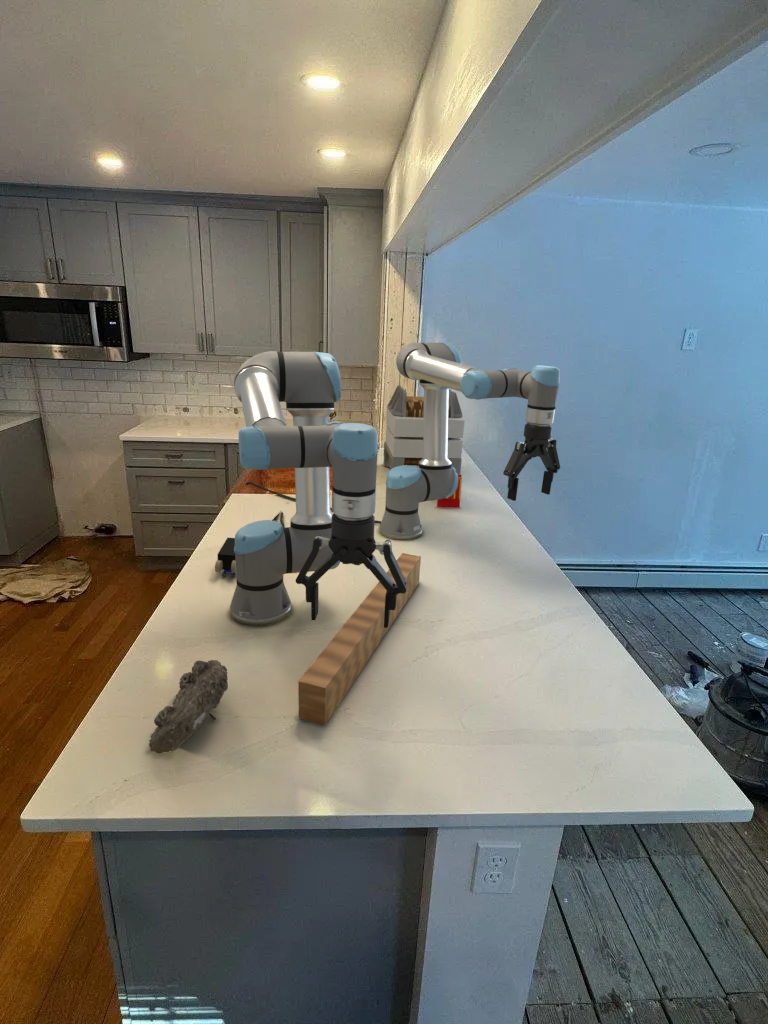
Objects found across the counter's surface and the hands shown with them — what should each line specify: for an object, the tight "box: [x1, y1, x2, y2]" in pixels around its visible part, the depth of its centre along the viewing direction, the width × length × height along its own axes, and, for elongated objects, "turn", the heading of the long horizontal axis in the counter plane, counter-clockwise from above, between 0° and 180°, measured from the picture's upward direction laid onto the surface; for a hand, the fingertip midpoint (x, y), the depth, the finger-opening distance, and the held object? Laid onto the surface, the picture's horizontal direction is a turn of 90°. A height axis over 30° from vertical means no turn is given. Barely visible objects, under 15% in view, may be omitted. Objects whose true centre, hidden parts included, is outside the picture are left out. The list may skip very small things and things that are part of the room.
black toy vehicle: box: [214, 537, 236, 578], centre depth 166 cm, size 7×8×15 cm
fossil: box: [148, 659, 229, 754], centre depth 106 cm, size 22×10×15 cm
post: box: [297, 552, 422, 726], centre depth 135 cm, size 64×6×8 cm, turn 161°
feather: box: [271, 510, 283, 521], centre depth 212 cm, size 2×28×2 cm
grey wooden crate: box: [383, 384, 465, 475], centre depth 268 cm, size 34×33×41 cm
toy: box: [436, 474, 463, 509], centre depth 239 cm, size 12×13×30 cm
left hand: (350, 620), depth 106 cm, fingers open, 13 cm apart
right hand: (528, 496), depth 164 cm, fingers open, 13 cm apart
